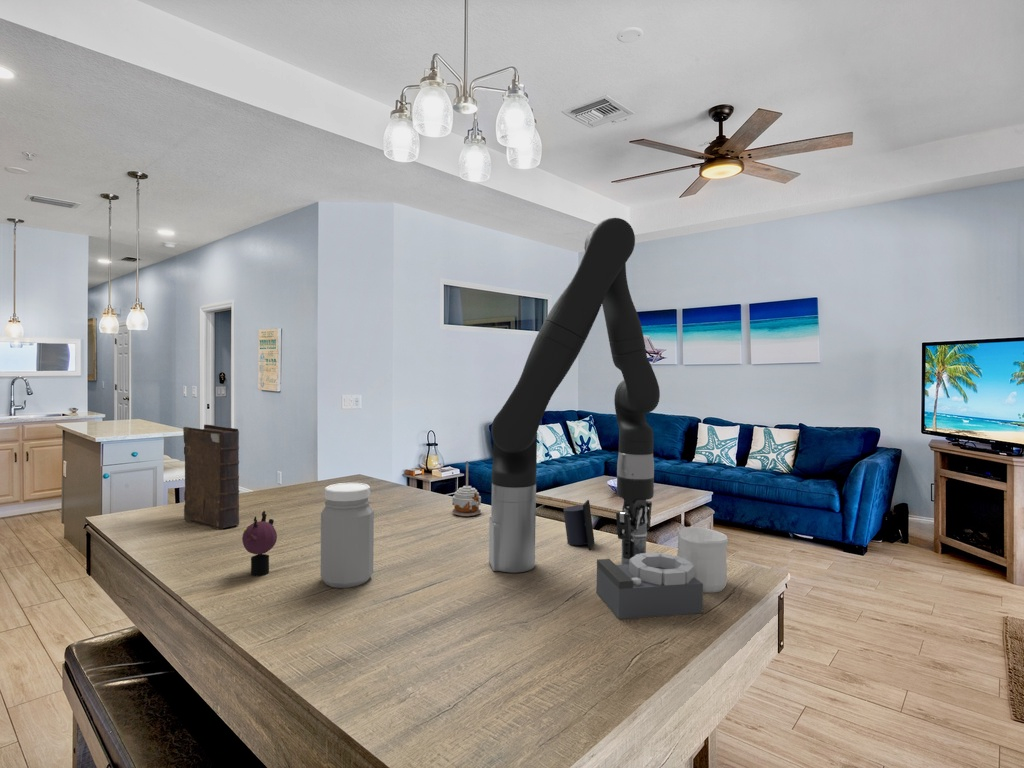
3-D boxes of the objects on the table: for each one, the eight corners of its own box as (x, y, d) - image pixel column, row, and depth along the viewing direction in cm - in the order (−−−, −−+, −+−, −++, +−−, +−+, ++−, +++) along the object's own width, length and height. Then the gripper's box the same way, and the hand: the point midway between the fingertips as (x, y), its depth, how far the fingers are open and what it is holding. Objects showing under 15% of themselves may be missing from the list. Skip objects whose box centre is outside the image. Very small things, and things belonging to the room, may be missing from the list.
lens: (626, 571, 115) (627, 526, 115) (616, 562, 121) (617, 519, 120) (650, 569, 116) (651, 525, 116) (640, 561, 122) (641, 519, 121)
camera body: (618, 619, 93) (619, 576, 93) (596, 592, 104) (597, 555, 104) (703, 612, 96) (704, 572, 96) (673, 588, 107) (674, 551, 107)
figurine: (273, 563, 117) (273, 505, 117) (289, 573, 111) (289, 513, 111) (232, 572, 111) (232, 512, 111) (246, 584, 106) (247, 520, 105)
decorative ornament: (479, 518, 155) (480, 463, 155) (451, 517, 155) (451, 463, 155) (481, 510, 163) (482, 459, 163) (454, 510, 163) (455, 458, 163)
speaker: (602, 543, 133) (598, 499, 133) (590, 550, 129) (585, 505, 129) (575, 540, 138) (571, 497, 138) (562, 546, 133) (558, 503, 133)
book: (242, 526, 144) (242, 428, 143) (213, 532, 138) (213, 430, 137) (209, 515, 154) (209, 423, 153) (182, 521, 148) (181, 425, 147)
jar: (383, 574, 112) (383, 483, 111) (353, 592, 103) (354, 494, 102) (341, 568, 115) (341, 480, 114) (309, 585, 106) (309, 489, 105)
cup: (701, 597, 103) (703, 544, 102) (663, 579, 112) (664, 530, 111) (738, 588, 107) (740, 537, 107) (698, 571, 116) (700, 524, 116)
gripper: (639, 481, 110) (637, 568, 110) (664, 471, 122) (663, 549, 122) (604, 477, 114) (602, 560, 115) (631, 467, 126) (630, 543, 127)
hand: (633, 554), depth 119 cm, fingers closed on lens, 5 cm apart
